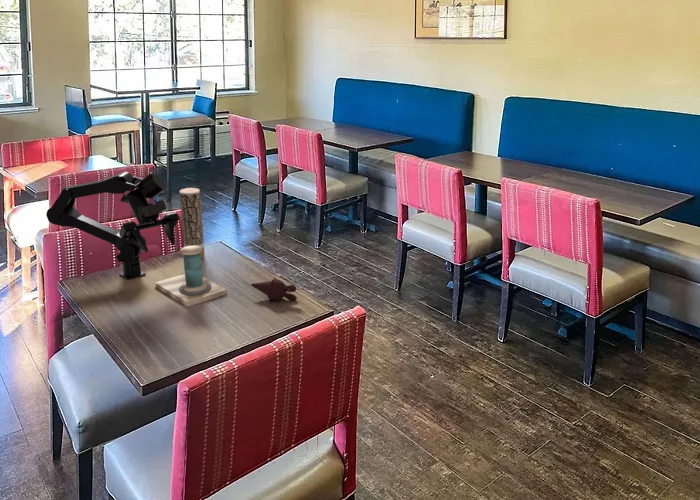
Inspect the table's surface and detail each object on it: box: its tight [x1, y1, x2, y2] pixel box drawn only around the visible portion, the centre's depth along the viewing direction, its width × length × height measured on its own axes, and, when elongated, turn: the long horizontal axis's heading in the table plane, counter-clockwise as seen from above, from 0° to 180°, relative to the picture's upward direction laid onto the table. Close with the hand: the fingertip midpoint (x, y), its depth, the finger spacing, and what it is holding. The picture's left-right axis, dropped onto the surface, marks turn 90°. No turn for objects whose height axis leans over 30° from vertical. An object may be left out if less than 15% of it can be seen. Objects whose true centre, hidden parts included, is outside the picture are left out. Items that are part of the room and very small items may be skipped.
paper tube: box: [179, 187, 205, 260], centre depth 229 cm, size 7×7×25 cm
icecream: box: [250, 277, 298, 302], centre depth 200 cm, size 7×7×15 cm
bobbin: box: [180, 246, 207, 293], centre depth 202 cm, size 8×8×13 cm
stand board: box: [154, 273, 228, 307], centre depth 206 cm, size 20×14×2 cm
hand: (160, 248), depth 204 cm, fingers open, 9 cm apart
